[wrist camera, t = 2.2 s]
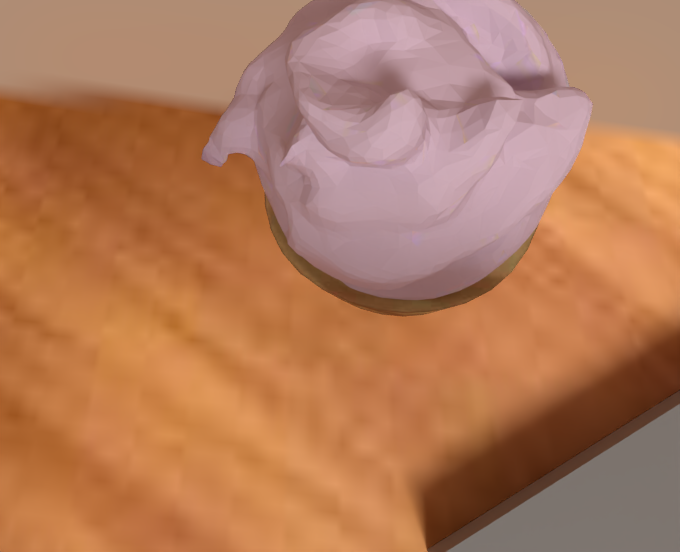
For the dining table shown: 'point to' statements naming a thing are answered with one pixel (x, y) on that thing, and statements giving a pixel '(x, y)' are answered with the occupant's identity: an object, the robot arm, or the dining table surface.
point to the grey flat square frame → (594, 497)
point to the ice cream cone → (406, 145)
